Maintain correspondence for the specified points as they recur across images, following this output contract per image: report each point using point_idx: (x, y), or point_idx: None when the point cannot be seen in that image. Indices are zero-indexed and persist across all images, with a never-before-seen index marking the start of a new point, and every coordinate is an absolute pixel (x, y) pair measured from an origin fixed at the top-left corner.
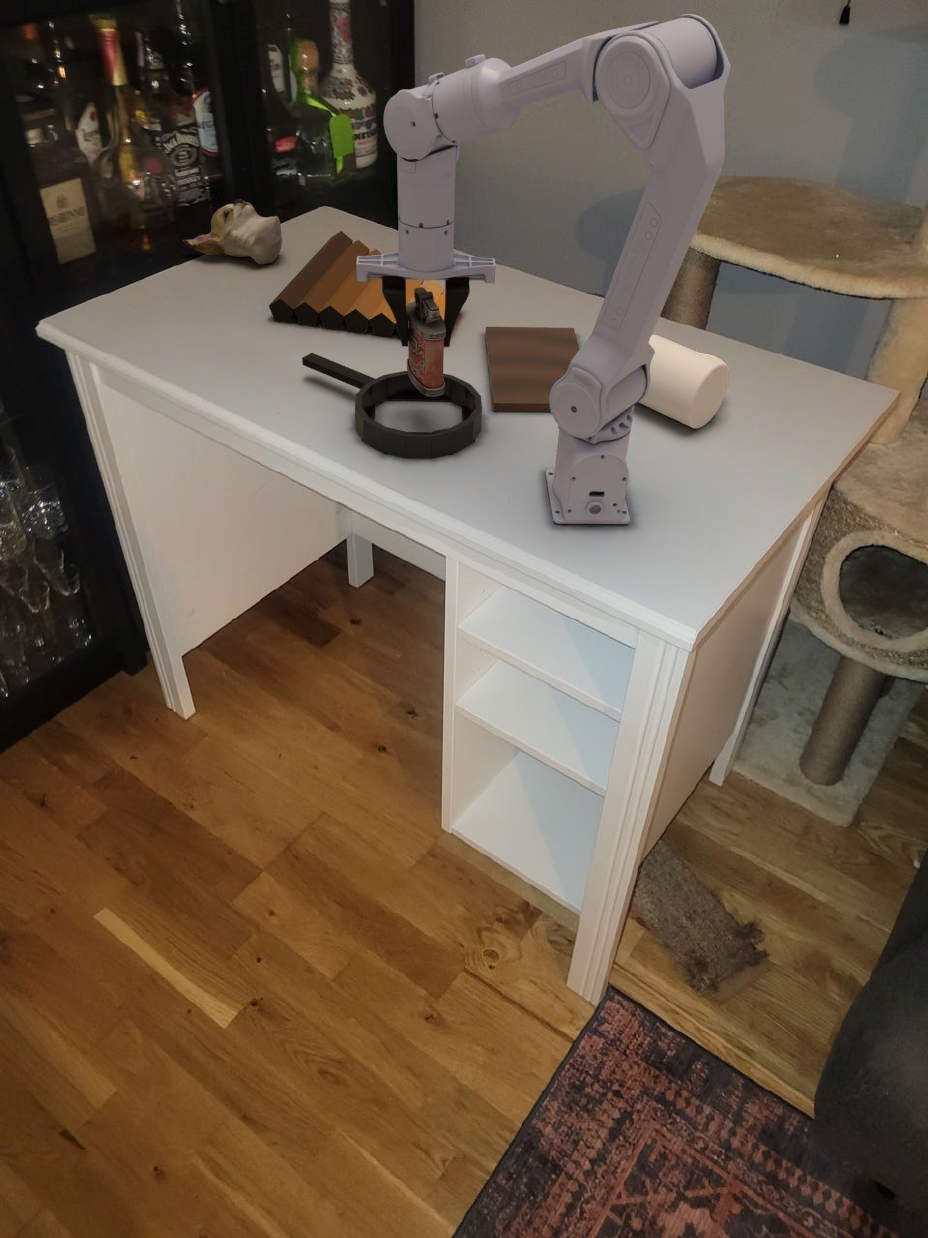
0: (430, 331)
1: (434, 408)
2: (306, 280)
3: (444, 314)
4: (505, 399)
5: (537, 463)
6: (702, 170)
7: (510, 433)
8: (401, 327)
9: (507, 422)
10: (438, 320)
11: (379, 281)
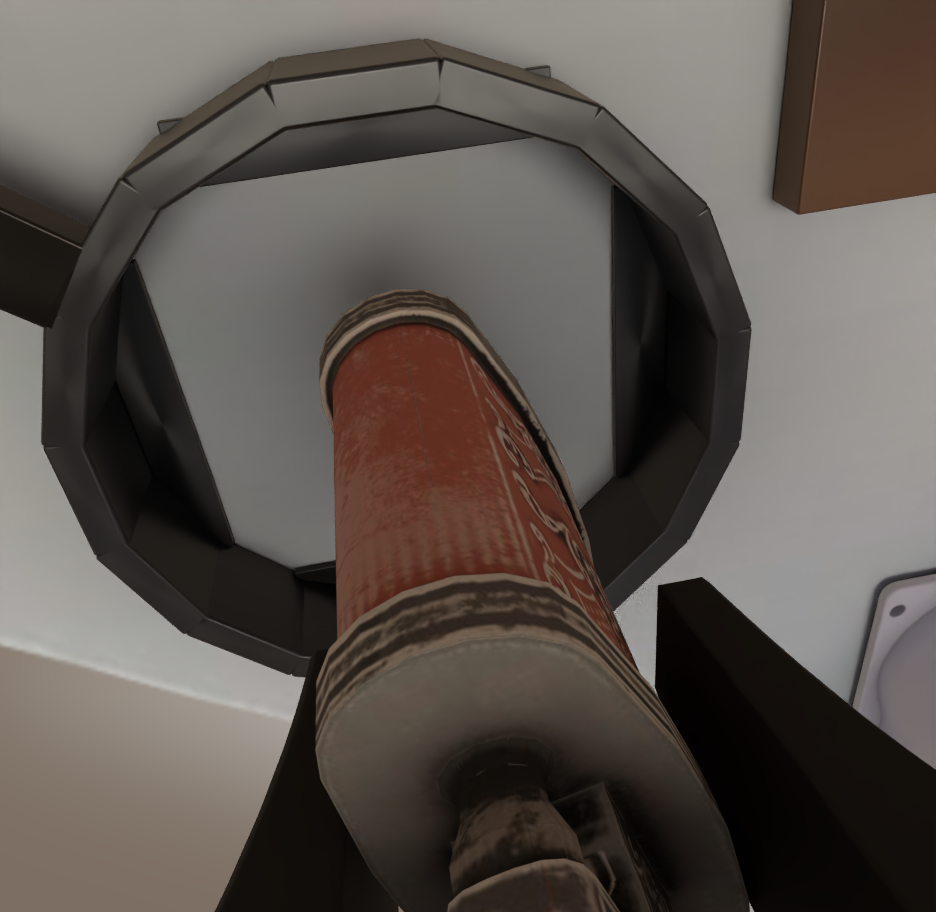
0: None
1: (466, 221)
2: None
3: (763, 732)
4: (865, 170)
5: (868, 535)
6: None
7: (814, 372)
8: None
9: (820, 288)
10: (699, 896)
11: None
